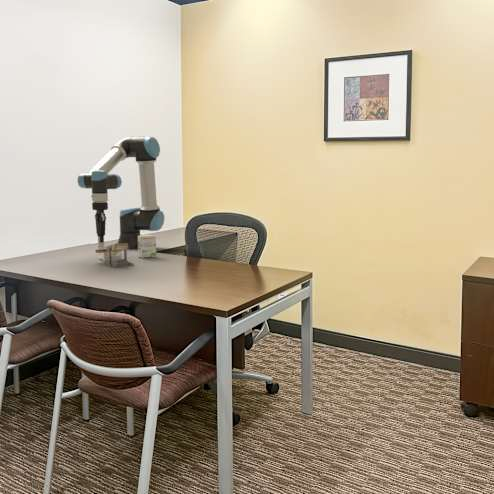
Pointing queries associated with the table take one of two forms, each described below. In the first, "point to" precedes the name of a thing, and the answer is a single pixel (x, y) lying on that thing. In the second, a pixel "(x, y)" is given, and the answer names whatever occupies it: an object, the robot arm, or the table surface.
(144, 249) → the ink box
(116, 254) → the white open box
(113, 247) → the lever
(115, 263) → the stand
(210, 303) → the table surface
